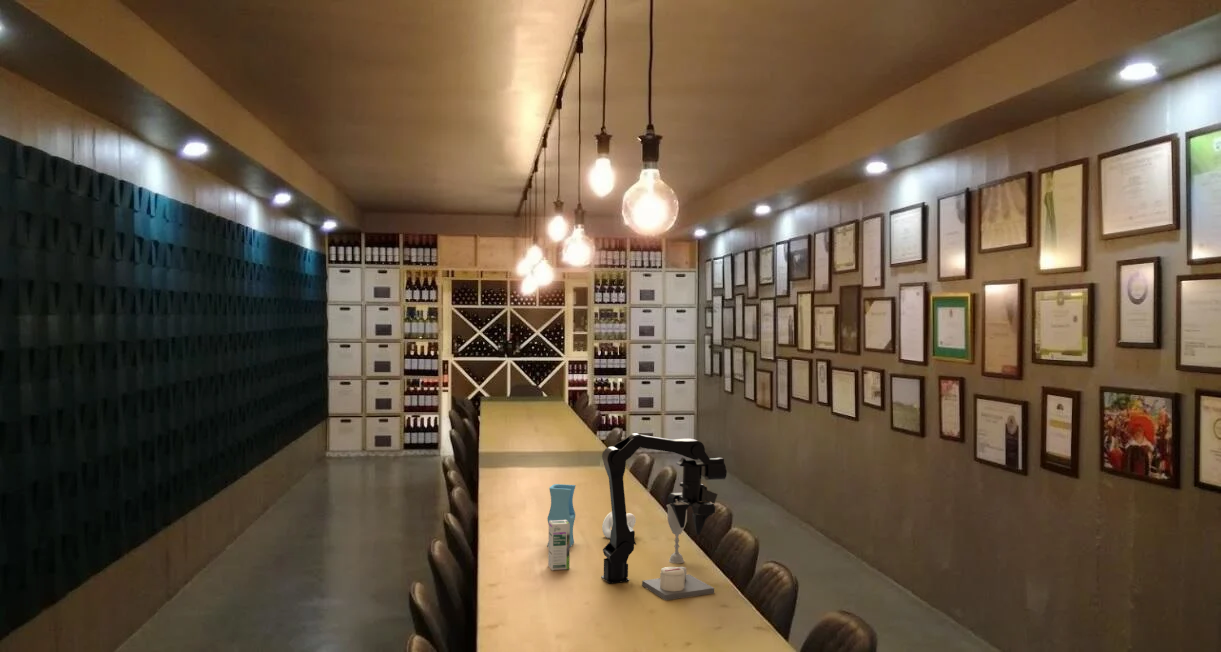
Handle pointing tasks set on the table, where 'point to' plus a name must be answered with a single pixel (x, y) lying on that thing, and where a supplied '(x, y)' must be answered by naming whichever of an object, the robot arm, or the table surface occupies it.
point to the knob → (672, 578)
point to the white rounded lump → (609, 523)
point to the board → (690, 589)
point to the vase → (562, 505)
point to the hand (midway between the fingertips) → (690, 531)
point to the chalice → (676, 530)
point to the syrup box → (559, 544)
